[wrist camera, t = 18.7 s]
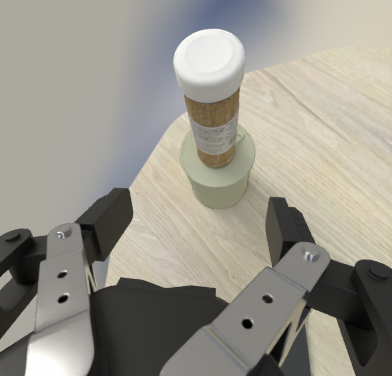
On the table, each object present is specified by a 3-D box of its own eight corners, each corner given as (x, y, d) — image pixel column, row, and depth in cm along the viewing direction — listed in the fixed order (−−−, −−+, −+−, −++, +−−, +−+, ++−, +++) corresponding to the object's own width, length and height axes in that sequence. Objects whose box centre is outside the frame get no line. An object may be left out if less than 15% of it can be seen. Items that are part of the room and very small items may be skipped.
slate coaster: (231, 392, 29) (231, 394, 29) (228, 306, 32) (228, 307, 32) (312, 398, 28) (314, 401, 28) (301, 309, 31) (303, 310, 31)
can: (258, 185, 37) (273, 153, 26) (214, 220, 36) (210, 203, 25) (222, 147, 40) (222, 102, 29) (181, 178, 39) (163, 146, 28)
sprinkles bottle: (211, 127, 28) (200, 16, 15) (243, 146, 26) (260, 41, 14) (189, 155, 27) (157, 63, 14) (220, 176, 26) (216, 95, 13)
